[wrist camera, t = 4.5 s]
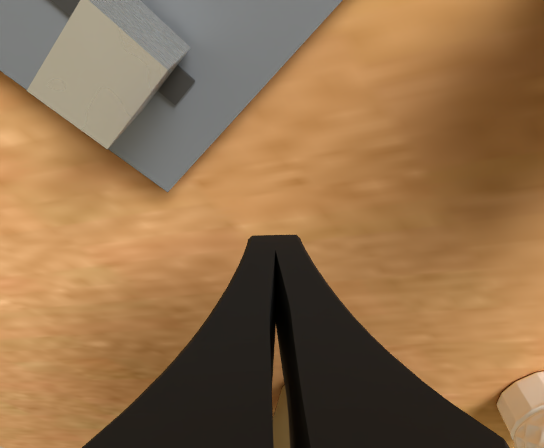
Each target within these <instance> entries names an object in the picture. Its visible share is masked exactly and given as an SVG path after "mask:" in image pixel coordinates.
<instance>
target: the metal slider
mask: <svg viewBox="0 0 544 448" xmlns="http://www.w3.org/2000/svg"><path fill="white" fill-rule="evenodd" d="M190 48H191V47H190V46H189V45H188V44H187V43H185V42H184V41H183V40H182V39H181V38H180V37H179V36H178V35H177V34H176V33H175V32H174V31H173V30H172V29H171V28H169V27H168V26H167V25H166V24H165V23H164V22H163V21H162V20H161V19H160V18H159V17H158V16H157V15H156V14H155V13H153V12H152V11H151V10H150V9H149V8H148V7H147V6H146V5H145V4H144V3H143V2H142V1H141V0H80V2H79V3H78V5H77V7H76V8H75V10H74V12H73V13H72V15H71V17H70V18H69V20H68V22H67V23H66V25H65V27H64V29H63V30H62V32H61V34H60V35H59V37H58V39H57V40H56V42H55V44H54V45H53V47H52V49H51V50H50V52H49V54H48V56H47V57H46V59H45V61H44V62H43V64H42V66H41V67H40V69H39V71H38V72H37V74H36V76H35V77H34V79H33V81H32V83H31V84H30V86H29V88H28V89H27V92H29V93H30V94H32V95H33V96H34V97H36V98H37V99H39V100H40V101H41V102H43V103H44V104H45V105H47V106H48V107H50V108H51V109H52V110H54V111H55V112H56V113H58V114H59V115H61V116H62V117H63V118H65V119H66V120H67V121H69V122H70V123H72V124H73V125H74V126H76V127H77V128H79V129H80V130H81V131H83V132H84V133H85V134H87V135H88V136H90V137H91V138H92V139H94V140H95V141H96V142H98V143H99V144H101V145H102V146H103V147H105V148H106V149H108V148H109V147H110V146H111V145H112V144H113V143H114V141H115V140H116V139H117V138H118V137H119V136H120V135H121V134H122V132H123V131H124V130H125V129H126V128H127V127H128V126H129V125H130V124H131V122H132V121H133V120H134V119H135V118H136V117H137V116H138V115H139V114H140V112H141V111H142V110H143V109H144V108H145V106H146V105H147V104H148V102H149V101H150V100H151V98H152V97H153V96H154V95H155V93H156V92H157V91H158V89H159V88H160V87H161V85H162V84H163V83H164V82H165V80H166V79H167V78H168V76H169V75H170V74H171V72H172V71H173V70H174V69H175V67H176V66H177V65H178V63H179V62H180V61H181V59H182V58H183V57H184V56H185V54H186V53H187V52H188V50H189V49H190Z"/></svg>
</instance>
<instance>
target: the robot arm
mask: <svg viewBox="0 0 544 448" xmlns="http://www.w3.org/2000/svg"><path fill="white" fill-rule="evenodd" d="M275 327H276V328H277V335H278V342H279V349H280V356H281V362H282V369H283V376H284V383H285V390H286V397H287V407H288V419H289V437H290V448H509V446H508V445H507V443H506V441H505V440H504V439H503V438H502V437H500V436H499V435H497V434H496V433H494V432H493V431H491V430H490V429H488V428H487V427H486V426H484V425H483V424H481V423H480V422H478V421H477V420H475V419H474V418H472V417H471V416H469V415H468V414H466V413H465V412H463V411H462V410H461V409H459V408H458V407H456V406H455V405H453V404H452V403H450V402H449V401H448V400H446V399H445V398H444V397H442V396H441V395H440V394H438V393H437V392H436V391H435V390H433V389H432V388H431V387H429V386H428V385H427V384H425V383H424V382H423V381H422V380H420V379H419V378H418V377H417V376H416V375H415V374H413V373H412V372H411V371H410V370H409V369H408V368H406V367H405V366H404V365H403V364H402V363H401V362H399V361H398V360H397V359H396V358H395V357H394V356H393V355H391V354H390V353H389V352H388V351H387V350H386V349H385V348H384V347H383V346H382V345H381V344H380V343H379V342H378V341H377V340H376V339H375V338H374V337H372V336H371V335H370V333H369V332H368V331H367V330H366V329H365V328H364V327H363V326H362V325H361V324H360V323H359V322H358V321H357V320H356V319H355V317H354V316H353V315H352V314H351V313H350V312H349V311H348V309H347V308H346V307H345V306H344V305H343V303H342V302H341V301H340V300H339V298H338V297H337V296H336V295H335V293H334V292H333V291H332V289H331V288H330V287H329V285H328V284H327V282H326V281H325V280H324V278H323V277H322V275H321V274H320V273H319V271H318V270H317V268H316V266H315V265H314V263H313V262H312V260H311V258H310V257H309V255H308V253H307V252H306V250H305V248H304V246H303V244H302V242H301V239H300V238H299V237H298V236H297V235H264V236H251V237H250V238H249V239H248V243H247V246H246V249H245V252H244V255H243V257H242V259H241V261H240V264H239V266H238V268H237V270H236V272H235V274H234V276H233V277H232V279H231V281H230V283H229V285H228V287H227V289H226V290H225V292H224V293H223V295H222V297H221V298H220V300H219V301H218V303H217V305H216V306H215V308H214V309H213V311H212V312H211V314H210V315H209V317H208V318H207V320H206V321H205V322H204V324H203V325H202V326H201V328H200V329H199V330H198V332H197V333H196V334H195V336H194V337H193V338H192V340H191V341H190V342H189V343H188V344H187V346H186V347H185V348H184V349H183V350H182V351H181V353H180V354H179V355H178V356H177V357H176V359H175V360H174V361H173V362H172V363H171V364H170V365H169V366H168V368H167V369H166V370H165V371H164V372H163V373H162V374H161V375H160V376H159V377H158V378H157V379H156V380H155V381H154V382H153V383H152V384H151V385H150V386H149V387H148V388H147V389H146V390H145V391H144V392H143V393H142V394H141V395H140V396H139V397H138V398H137V399H136V400H135V401H134V402H133V403H132V404H131V405H130V406H129V407H128V408H127V409H126V410H124V411H123V412H122V413H121V414H120V415H119V416H118V417H117V418H115V419H114V420H113V421H112V422H111V423H110V424H109V425H107V426H106V427H105V428H104V429H103V430H102V431H101V432H99V433H98V434H97V435H96V436H95V437H94V438H93V439H91V440H90V441H89V442H88V443H87V444H86V445H84V446H83V447H82V448H274V444H273V416H272V377H273V360H274V344H275Z"/></svg>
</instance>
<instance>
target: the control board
mask: <svg viewBox="0 0 544 448" xmlns="http://www.w3.org/2000/svg"><path fill="white" fill-rule="evenodd" d="M141 1H142V2H143V3H144V4H145V5H146V6H147V7H148V8H149V9H150V10H151V11H152V12H153V13H155V14H156V15H157V16H158V17H159V18H160V19H161V20H162V21H163V22H164V23H165V24H166V25H167V26H168V27H169V28H171V29H172V30H173V31H174V32H175V33H176V34H177V35H178V36H179V37H180V38H181V39H182V40H183V41H184V42H185V43H187V44H188V45H189V46H190V47H191V48H190V49H189V50H188V52H187V53H186V54H185V56H184V57H183V58H182V59H181V61H180V62H179V63H178V65H177V66H176V67H175V69H174V70H173V71H172V72H171V74H170V75H169V76H168V78H167V79H166V80H165V82H164V83H163V84H162V85H161V87H160V88H159V89H158V91H157V92H156V93H155V95H154V96H153V97H152V98H151V100H150V101H149V102H148V104H147V105H146V106H145V108H144V109H143V110H142V111H141V112H140V114H139V115H138V116H137V117H136V118H135V119H134V120H133V121H132V122H131V124H130V125H129V126H128V127H127V128H126V129H125V130H124V131H123V132H122V134H121V135H120V136H119V137H118V138H117V139H116V140H115V141H114V143H113V144H112V145H111V146H110V147H109V148H108V149H109V150H110V151H112V152H113V153H114V154H116V155H117V156H118V157H120V158H121V159H123V160H124V161H125V162H127V163H128V164H129V165H131V166H132V167H134V168H135V169H136V170H138V171H139V172H140V173H142V174H143V175H145V176H146V177H147V178H149V179H150V180H151V181H153V182H154V183H156V184H157V185H158V186H160V187H161V188H162V189H164V190H165V191H167V192H168V191H169V190H170V189H171V188H172V187H173V186H174V185H175V184H176V183H177V182H178V180H179V179H180V178H181V177H182V176H183V175H184V174H185V173H186V172H187V171H188V169H189V168H190V167H191V166H192V165H193V164H194V163H195V162H196V161H197V160H198V158H199V157H200V156H201V155H202V154H203V153H204V152H205V151H206V150H207V149H208V147H209V146H210V145H211V144H212V143H213V142H214V141H215V140H216V139H217V138H218V136H219V135H220V134H221V133H222V132H223V131H224V130H225V129H226V128H227V127H228V125H229V124H230V123H231V122H232V121H233V120H234V119H235V118H236V117H237V116H238V114H239V113H240V112H241V111H242V110H243V109H244V108H245V107H246V106H247V105H248V103H249V102H250V101H251V100H252V99H253V98H254V97H255V96H256V95H257V94H258V92H259V91H260V90H261V89H262V88H263V87H264V86H265V85H266V84H267V83H268V81H269V80H270V79H271V78H272V77H273V76H274V75H275V74H276V73H277V72H278V70H279V69H280V68H281V67H282V66H283V65H284V64H285V63H286V62H287V61H288V59H289V58H290V57H291V56H292V55H293V54H294V53H295V52H296V51H297V50H298V49H299V47H300V46H301V45H302V44H303V43H304V42H305V41H306V40H307V39H308V38H309V36H310V35H311V34H312V33H313V32H314V31H315V30H316V29H317V28H318V27H319V25H320V24H321V23H322V22H323V21H324V20H325V19H326V18H327V17H328V16H329V14H330V13H331V12H332V11H333V10H334V9H335V8H336V7H337V6H338V5H339V3H340V2H341V1H342V0H141ZM79 2H80V0H0V71H1V72H3V73H4V74H5V75H7V76H8V77H10V78H11V79H12V80H14V81H15V82H17V83H18V84H19V85H21V86H22V87H23V88H25V89H26V90H27V89H28V88H29V86H30V84H31V83H32V81H33V79H34V77H35V76H36V74H37V72H38V71H39V69H40V67H41V66H42V64H43V62H44V61H45V59H46V57H47V56H48V54H49V52H50V50H51V49H52V47H53V45H54V44H55V42H56V40H57V39H58V37H59V35H60V34H61V32H62V30H63V29H64V27H65V25H66V23H67V22H68V20H69V18H70V17H71V15H72V13H73V12H74V10H75V8H76V7H77V5H78V3H79Z"/></svg>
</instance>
